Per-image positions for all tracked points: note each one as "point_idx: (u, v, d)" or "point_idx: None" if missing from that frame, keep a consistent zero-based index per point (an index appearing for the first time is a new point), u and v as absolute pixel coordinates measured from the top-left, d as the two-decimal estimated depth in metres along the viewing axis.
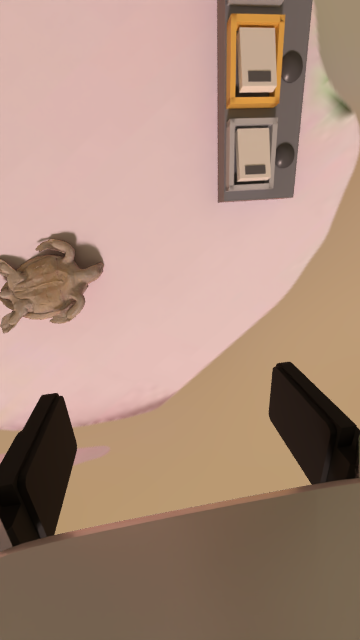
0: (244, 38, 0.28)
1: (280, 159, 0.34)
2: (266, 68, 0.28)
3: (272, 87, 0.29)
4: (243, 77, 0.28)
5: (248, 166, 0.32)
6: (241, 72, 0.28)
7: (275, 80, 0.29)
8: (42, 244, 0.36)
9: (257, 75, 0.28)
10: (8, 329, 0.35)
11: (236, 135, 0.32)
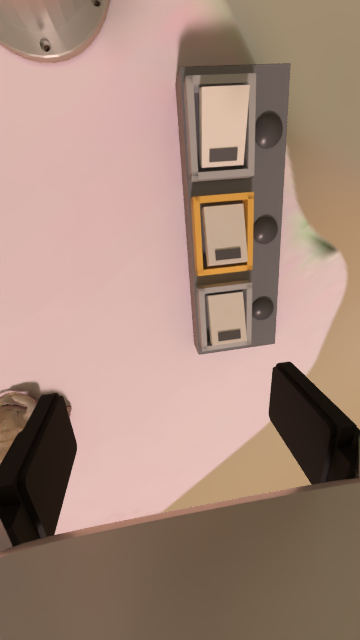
0: (209, 217, 0.25)
1: (257, 312, 0.31)
2: (235, 245, 0.26)
3: (243, 261, 0.26)
4: (210, 256, 0.26)
5: (221, 333, 0.29)
6: (207, 251, 0.26)
7: (246, 256, 0.26)
8: (1, 397, 0.33)
9: (225, 253, 0.26)
10: None
11: (207, 300, 0.29)
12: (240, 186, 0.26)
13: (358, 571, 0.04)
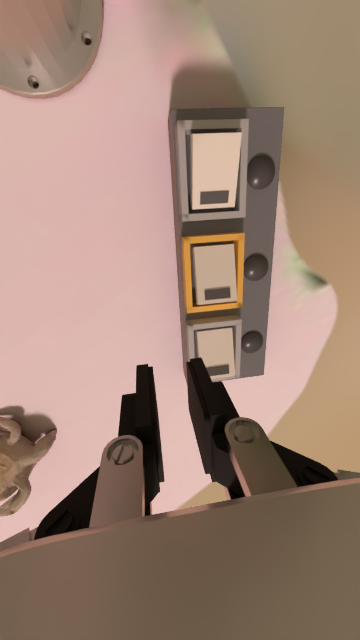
0: (199, 257, 0.25)
1: (247, 345, 0.31)
2: (225, 285, 0.26)
3: None
4: (199, 296, 0.26)
5: (210, 368, 0.29)
6: (197, 290, 0.26)
7: (235, 295, 0.26)
8: None
9: (215, 293, 0.26)
10: None
11: (196, 335, 0.29)
12: (231, 225, 0.26)
13: (358, 571, 0.04)
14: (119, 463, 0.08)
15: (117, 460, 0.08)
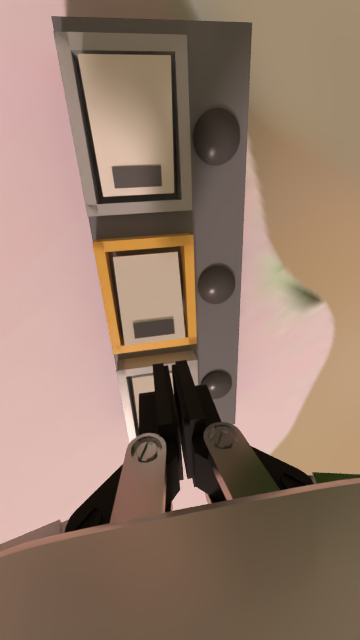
0: (123, 273, 0.16)
1: (210, 388, 0.23)
2: (165, 315, 0.17)
3: None
4: (125, 332, 0.17)
5: None
6: (122, 323, 0.17)
7: (182, 330, 0.17)
8: None
9: (149, 328, 0.17)
10: None
11: (133, 382, 0.20)
12: (175, 222, 0.17)
13: (358, 571, 0.04)
14: (142, 460, 0.08)
15: (140, 457, 0.08)
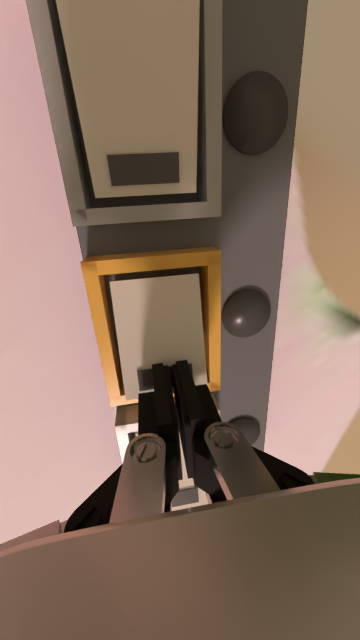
0: (123, 304, 0.12)
1: None
2: (181, 358, 0.12)
3: None
4: (127, 382, 0.12)
5: None
6: None
7: (204, 378, 0.13)
8: None
9: None
10: None
11: None
12: (195, 233, 0.12)
13: (358, 571, 0.04)
14: (142, 460, 0.08)
15: (140, 457, 0.08)
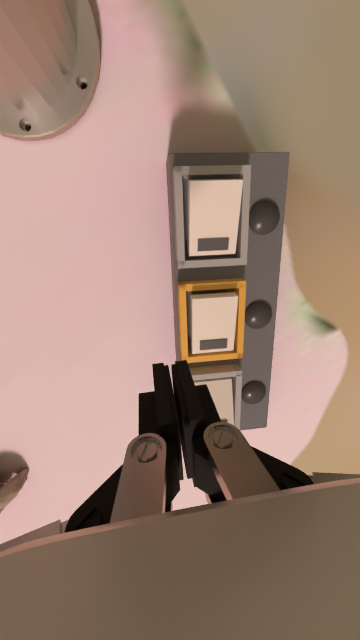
0: (197, 310, 0.22)
1: (248, 395, 0.29)
2: (222, 336, 0.24)
3: None
4: (194, 345, 0.24)
5: None
6: (192, 340, 0.24)
7: (232, 345, 0.25)
8: None
9: (210, 344, 0.24)
10: None
11: None
12: (232, 271, 0.24)
13: (358, 571, 0.04)
14: (142, 460, 0.08)
15: (140, 457, 0.08)
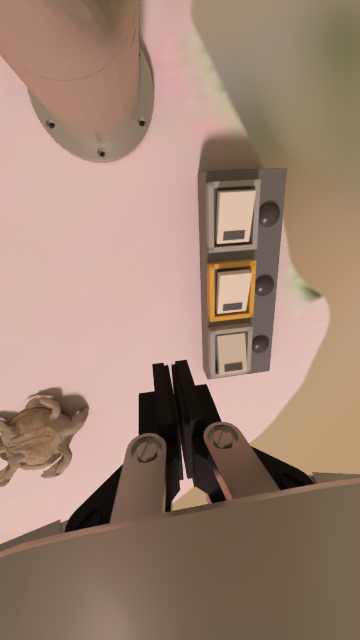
0: (223, 283, 0.32)
1: (256, 346, 0.39)
2: (239, 301, 0.34)
3: None
4: (218, 308, 0.34)
5: (227, 365, 0.36)
6: (217, 304, 0.34)
7: (245, 307, 0.35)
8: (30, 401, 0.39)
9: (230, 306, 0.34)
10: (4, 483, 0.39)
11: (216, 339, 0.36)
12: (245, 254, 0.33)
13: (358, 571, 0.04)
14: (142, 460, 0.08)
15: (140, 457, 0.08)
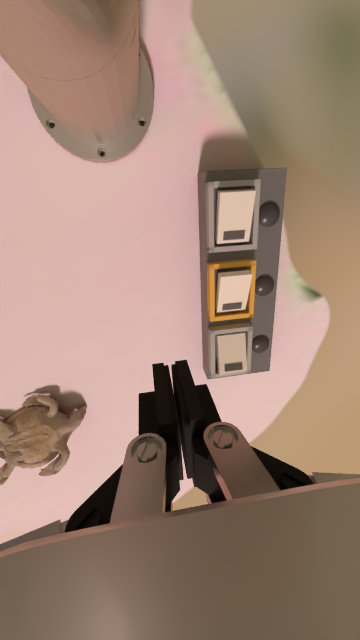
0: (223, 284, 0.32)
1: (256, 346, 0.39)
2: (238, 300, 0.34)
3: None
4: (218, 307, 0.34)
5: (227, 365, 0.36)
6: (217, 303, 0.34)
7: (244, 306, 0.35)
8: (28, 399, 0.39)
9: (230, 306, 0.34)
10: (2, 481, 0.39)
11: (216, 339, 0.36)
12: (245, 253, 0.33)
13: (358, 571, 0.04)
14: (142, 460, 0.08)
15: (140, 457, 0.08)
